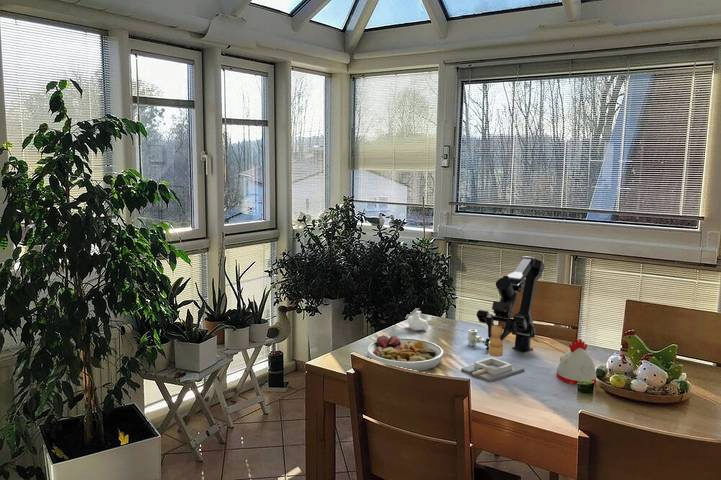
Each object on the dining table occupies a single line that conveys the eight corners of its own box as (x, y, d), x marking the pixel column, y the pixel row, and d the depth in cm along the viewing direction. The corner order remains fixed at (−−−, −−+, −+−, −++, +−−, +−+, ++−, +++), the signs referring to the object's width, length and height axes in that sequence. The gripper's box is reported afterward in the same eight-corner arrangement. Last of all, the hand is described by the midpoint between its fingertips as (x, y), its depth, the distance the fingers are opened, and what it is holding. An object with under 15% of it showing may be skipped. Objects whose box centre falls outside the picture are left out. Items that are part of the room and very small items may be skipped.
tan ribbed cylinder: (497, 351, 232) (499, 324, 231) (505, 356, 227) (506, 327, 226) (486, 352, 231) (487, 325, 229) (493, 357, 226) (494, 329, 224)
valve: (463, 345, 261) (486, 352, 252) (464, 330, 260) (486, 337, 251) (473, 342, 265) (495, 349, 256) (473, 328, 264) (496, 334, 255)
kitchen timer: (548, 374, 228) (551, 336, 226) (577, 369, 233) (579, 332, 231) (575, 387, 215) (578, 347, 213) (604, 382, 221) (607, 343, 219)
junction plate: (495, 360, 242) (496, 353, 242) (524, 370, 231) (524, 363, 231) (458, 371, 229) (458, 364, 229) (487, 383, 218) (487, 375, 218)
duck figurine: (406, 331, 287) (397, 315, 281) (415, 319, 291) (406, 304, 285) (426, 337, 279) (417, 321, 273) (434, 325, 282) (425, 309, 276)
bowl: (457, 361, 241) (458, 342, 240) (411, 381, 219) (412, 360, 218) (399, 344, 261) (399, 327, 260) (351, 361, 239) (352, 342, 238)
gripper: (479, 289, 234) (466, 323, 226) (526, 296, 224) (514, 332, 216) (485, 304, 241) (474, 338, 234) (531, 312, 231) (520, 347, 224)
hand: (495, 338), depth 227 cm, fingers closed on tan ribbed cylinder, 5 cm apart
